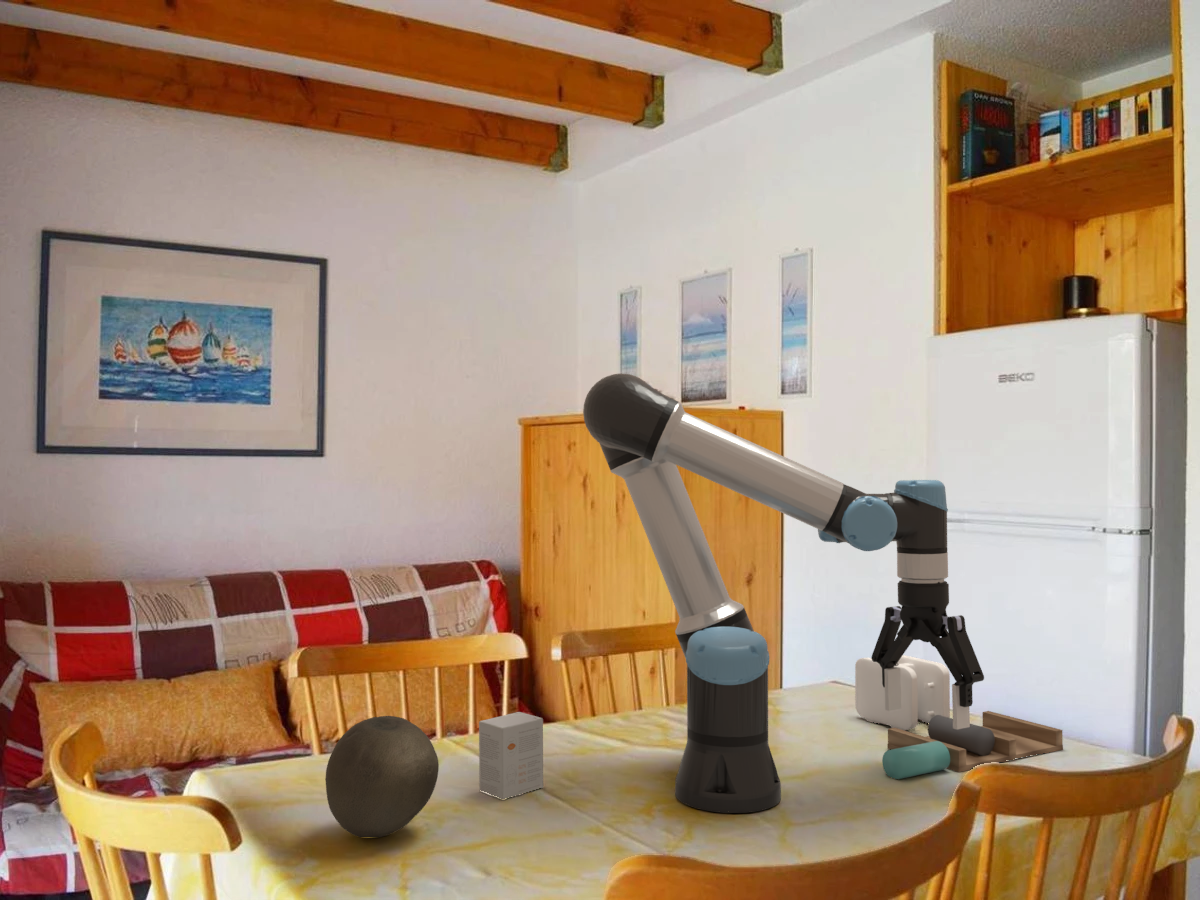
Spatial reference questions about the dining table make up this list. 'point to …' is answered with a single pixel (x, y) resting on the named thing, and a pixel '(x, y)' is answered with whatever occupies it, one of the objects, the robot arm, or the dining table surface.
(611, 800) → the dining table surface
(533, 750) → the small box
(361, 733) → the dark grey rounded lump
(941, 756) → the teal rod
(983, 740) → the black rod
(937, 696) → the cable organizer
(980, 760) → the slot board
